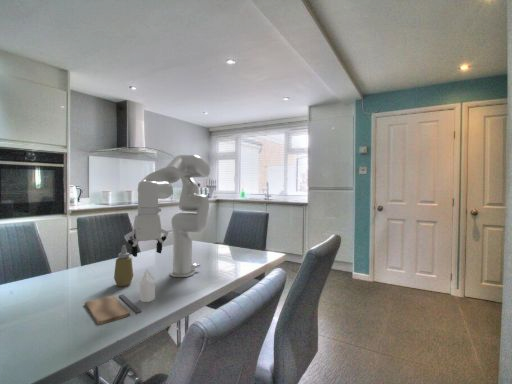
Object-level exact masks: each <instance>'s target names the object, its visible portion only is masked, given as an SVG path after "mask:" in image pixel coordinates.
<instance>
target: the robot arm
mask: <svg viewBox="0 0 512 384" xmlns="http://www.w3.org/2000/svg"><path fill="white" fill-rule="evenodd" d="M166 165H167V166H165V167H163V168H160V169H157V170H155V171H152V172H151V173H149V174H147V175H146V176H145V177H143V179H141V181H139V182H138V185H137V194H138V195H137V214H136V215H135V217H134V221H133V227H132V231H130V232H128V233H126V234H125V235H123V237H124V239H125V241H126V242H127V244H129V245H130V246H131V249H130V250H131V255H132V257H134V258H136V257H138V246H137V245H138V244H139V242H147V241H156V250H155V251H156V253H157V254H162V251H163V244H164V242H165V241H166V239H167V237H168V235H169V233H170V232H169V231H167V230H165V229H163V228H162V222H161V217H160V214H159V213H160V212H162V208H159V200H161V199H162V200H165V199H168V198H170V197H171V196H172V194H173V193H174V189H173V188H174V187H173V186H172V184H174V183H176V182H178V181H180V180H181V183H182V186H181V187H182V189H181V193H180V198H179V201H178V208H179V210H180V211H182V212H178V213H175V214H174V215H173V216H172V218H171V222H170V223H171V229H172V238H173V239H172V240H173V242H172V243H173V247H172V250H173V251H172V253H173V254H172V257H173V258H172V262H173V263H172V269H171V270H170V272H169V275H170V276H171V277H174V278H186V277H187V278H188V277H191V276H194V275H195V272H196V270H195V269H197V268H198V269H199V268H201V263H193V238H192V236H191V234H190V233H203V231H205V229H206V225H207V221H208V214H209V209H210V200H209V197H208V196H207V195H205V194H198V193H199V185H198V184H197V182H196V181H195V180H194V178H208V176H209V175H210V172H211V167H210V164H209V163H208V162H207V161H206V160H205V159H204V158H202V157H201V156H199V155H198V154H179V155H177V156H175V157H174V158H173V159H172V160H171V161H170V162H169V163H168V164H166ZM131 237H132V239H133V240H131Z"/></svg>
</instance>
